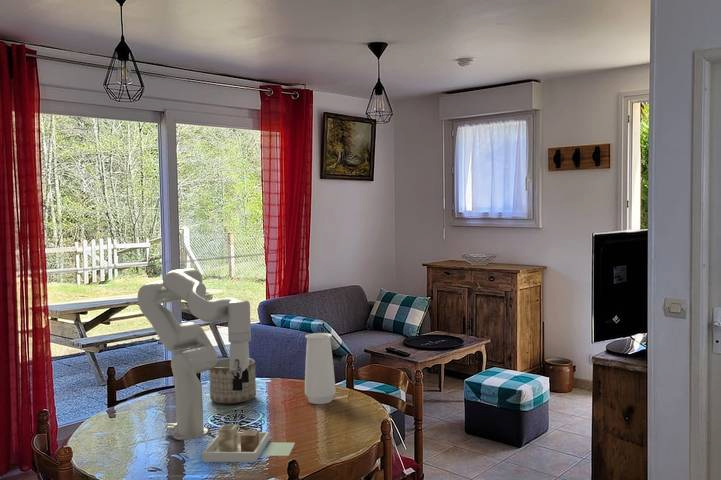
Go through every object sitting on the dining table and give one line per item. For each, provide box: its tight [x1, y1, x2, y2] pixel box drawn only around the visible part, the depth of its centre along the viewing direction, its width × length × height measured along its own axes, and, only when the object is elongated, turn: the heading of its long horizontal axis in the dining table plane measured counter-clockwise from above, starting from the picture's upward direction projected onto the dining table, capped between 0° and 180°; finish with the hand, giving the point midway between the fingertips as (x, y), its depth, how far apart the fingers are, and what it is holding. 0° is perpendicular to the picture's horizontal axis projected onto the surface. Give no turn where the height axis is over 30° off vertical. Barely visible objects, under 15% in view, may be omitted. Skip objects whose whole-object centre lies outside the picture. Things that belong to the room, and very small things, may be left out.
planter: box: [208, 357, 257, 405], centre depth 281 cm, size 19×19×16 cm
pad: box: [261, 441, 296, 457], centre depth 221 cm, size 9×12×1 cm
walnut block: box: [240, 429, 260, 452], centre depth 220 cm, size 5×5×6 cm
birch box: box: [217, 424, 238, 452], centre depth 221 cm, size 5×5×8 cm
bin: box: [201, 431, 270, 463], centre depth 221 cm, size 18×20×4 cm
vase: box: [304, 332, 336, 405], centre depth 277 cm, size 13×13×28 cm
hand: (241, 386), depth 222 cm, fingers open, 9 cm apart
